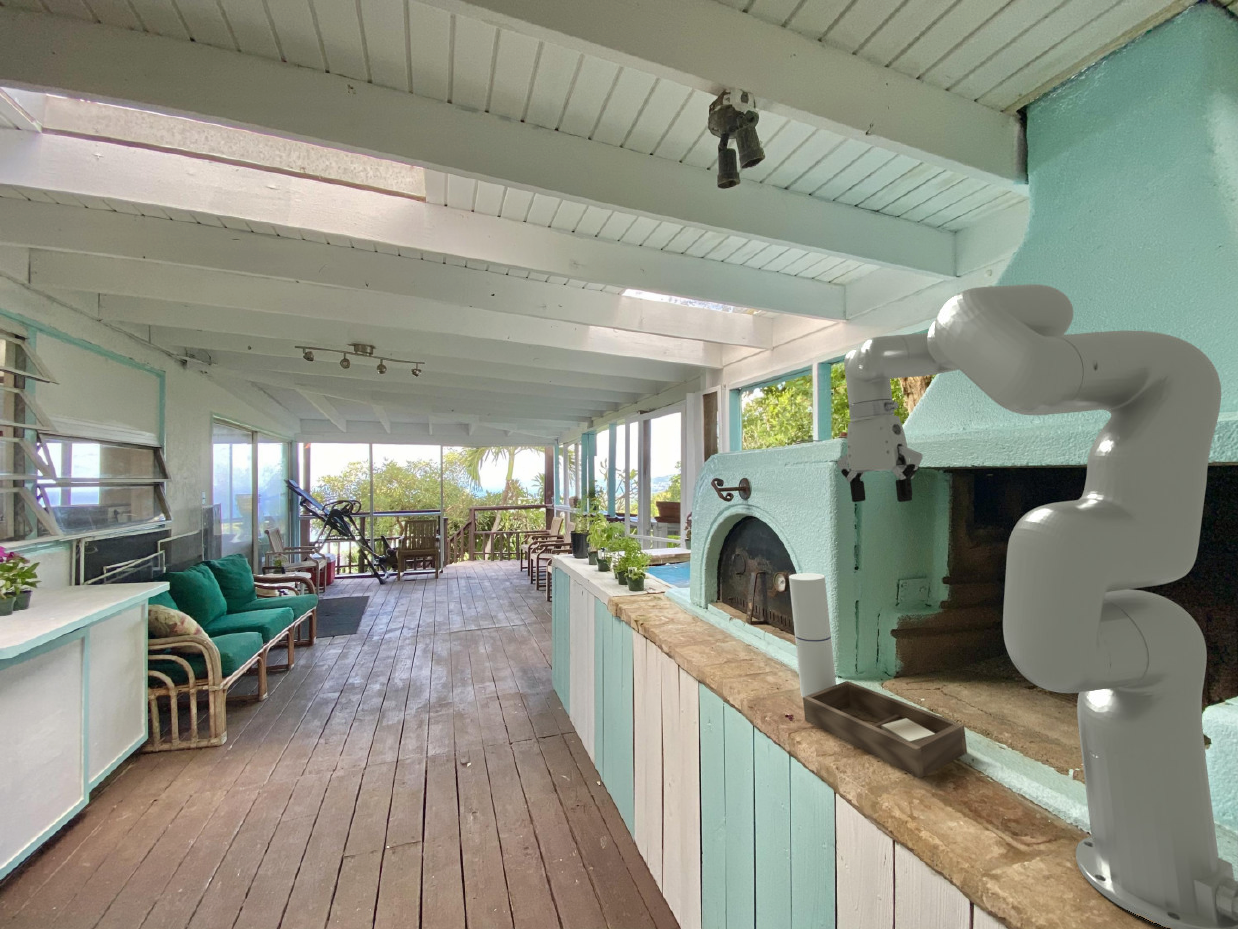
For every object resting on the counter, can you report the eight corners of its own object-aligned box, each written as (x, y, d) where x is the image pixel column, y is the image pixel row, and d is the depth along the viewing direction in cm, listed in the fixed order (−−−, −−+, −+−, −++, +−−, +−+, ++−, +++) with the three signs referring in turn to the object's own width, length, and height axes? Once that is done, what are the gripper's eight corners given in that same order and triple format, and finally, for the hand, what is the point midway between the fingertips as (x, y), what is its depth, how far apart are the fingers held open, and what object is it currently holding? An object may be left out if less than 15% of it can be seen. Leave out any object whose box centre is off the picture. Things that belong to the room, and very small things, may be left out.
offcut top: (936, 744, 79) (935, 733, 79) (910, 751, 78) (909, 741, 78) (907, 727, 85) (906, 718, 85) (882, 734, 83) (881, 725, 83)
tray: (967, 757, 79) (964, 725, 79) (919, 783, 73) (916, 749, 74) (849, 706, 98) (847, 680, 99) (805, 724, 93) (802, 697, 93)
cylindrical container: (815, 706, 100) (802, 581, 101) (794, 692, 107) (782, 576, 107) (845, 699, 102) (832, 576, 102) (822, 686, 109) (810, 571, 109)
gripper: (928, 404, 89) (938, 499, 89) (846, 418, 105) (855, 499, 104) (901, 404, 86) (912, 503, 85) (821, 419, 102) (830, 503, 101)
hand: (880, 501), depth 95 cm, fingers open, 9 cm apart
